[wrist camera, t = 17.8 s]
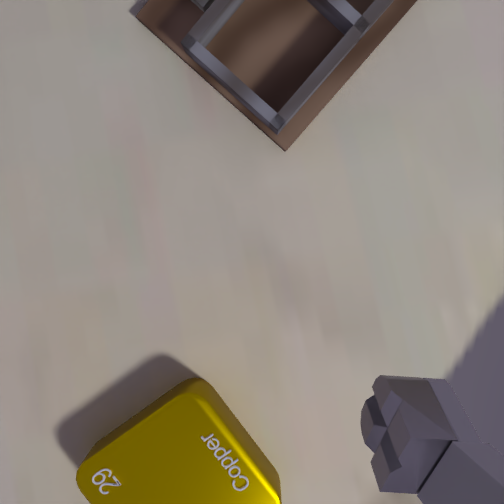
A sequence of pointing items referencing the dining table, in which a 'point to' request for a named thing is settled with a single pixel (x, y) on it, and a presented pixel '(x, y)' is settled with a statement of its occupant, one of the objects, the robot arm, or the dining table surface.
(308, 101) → the socket board
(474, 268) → the dining table surface
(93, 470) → the element tile
